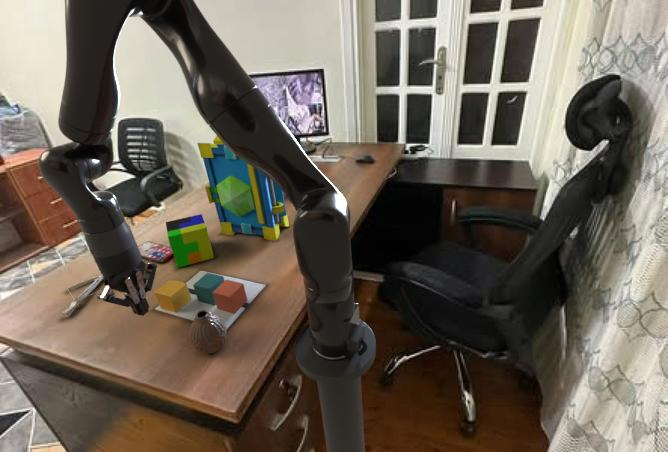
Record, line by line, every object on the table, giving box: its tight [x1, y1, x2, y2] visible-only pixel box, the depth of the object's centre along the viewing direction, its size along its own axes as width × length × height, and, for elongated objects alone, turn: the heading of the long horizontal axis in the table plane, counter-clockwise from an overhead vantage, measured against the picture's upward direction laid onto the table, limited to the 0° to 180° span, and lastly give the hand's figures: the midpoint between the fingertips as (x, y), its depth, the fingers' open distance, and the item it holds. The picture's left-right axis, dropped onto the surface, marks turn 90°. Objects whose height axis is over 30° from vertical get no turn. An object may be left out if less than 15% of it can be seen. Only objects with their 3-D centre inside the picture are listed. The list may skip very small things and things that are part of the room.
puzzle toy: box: [165, 213, 215, 269], centre depth 101 cm, size 10×10×10 cm
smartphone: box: [137, 241, 174, 264], centre depth 106 cm, size 7×1×15 cm
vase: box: [189, 310, 228, 355], centre depth 70 cm, size 7×7×9 cm
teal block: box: [193, 272, 225, 305], centre depth 84 cm, size 5×5×5 cm
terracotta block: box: [212, 280, 247, 314], centre depth 81 cm, size 5×5×5 cm
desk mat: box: [154, 270, 267, 331], centre depth 86 cm, size 21×16×1 cm
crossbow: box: [61, 274, 104, 318], centre depth 90 cm, size 16×13×2 cm
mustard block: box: [154, 279, 192, 313], centre depth 83 cm, size 5×5×5 cm
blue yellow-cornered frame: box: [197, 135, 290, 242], centre depth 107 cm, size 14×23×30 cm, turn 70°
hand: (143, 312), depth 76 cm, fingers closed
